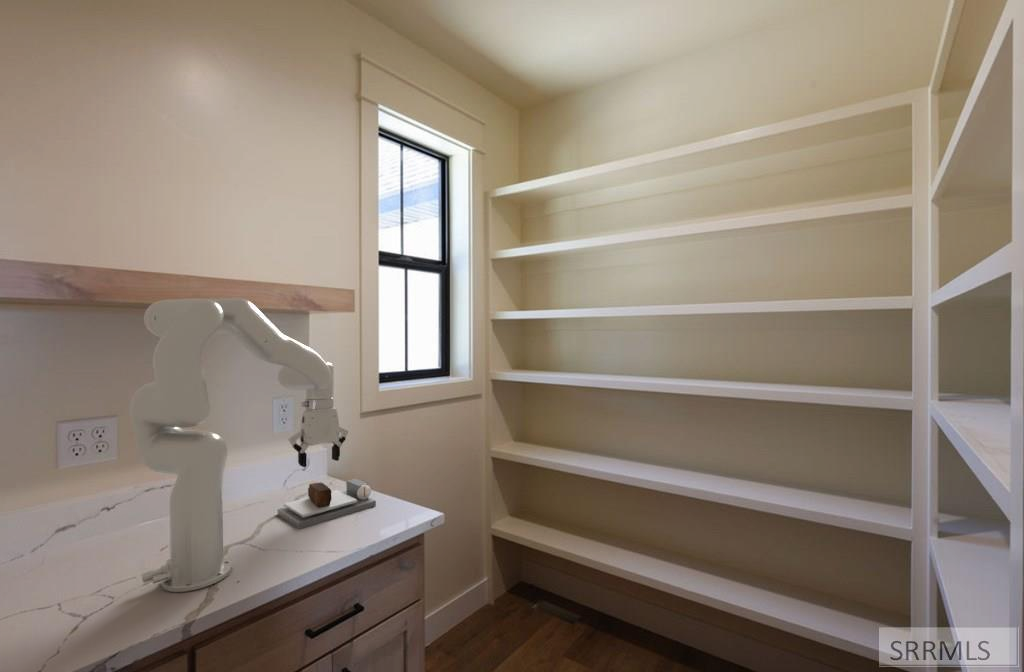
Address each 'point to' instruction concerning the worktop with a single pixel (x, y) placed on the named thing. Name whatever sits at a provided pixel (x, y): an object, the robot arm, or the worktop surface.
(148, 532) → the worktop surface
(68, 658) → the worktop surface
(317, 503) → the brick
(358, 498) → the scale
